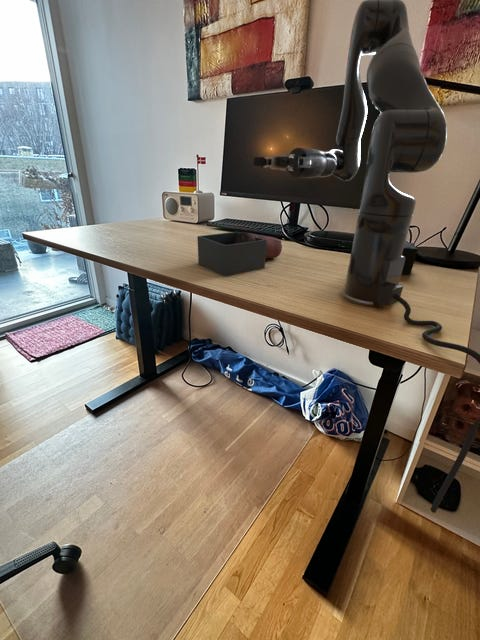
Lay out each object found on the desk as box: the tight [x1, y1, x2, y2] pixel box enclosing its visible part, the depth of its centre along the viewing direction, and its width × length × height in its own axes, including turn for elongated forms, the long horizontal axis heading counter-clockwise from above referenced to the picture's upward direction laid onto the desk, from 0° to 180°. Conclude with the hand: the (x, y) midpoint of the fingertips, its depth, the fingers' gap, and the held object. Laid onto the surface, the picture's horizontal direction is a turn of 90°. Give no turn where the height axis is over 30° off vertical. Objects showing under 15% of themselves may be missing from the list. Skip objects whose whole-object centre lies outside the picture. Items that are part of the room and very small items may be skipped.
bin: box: [196, 231, 267, 277], centre depth 81 cm, size 13×13×8 cm
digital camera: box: [401, 240, 419, 275], centre depth 82 cm, size 10×5×7 cm, turn 168°
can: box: [235, 231, 283, 259], centre depth 86 cm, size 6×6×14 cm
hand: (264, 161), depth 77 cm, fingers open, 8 cm apart
